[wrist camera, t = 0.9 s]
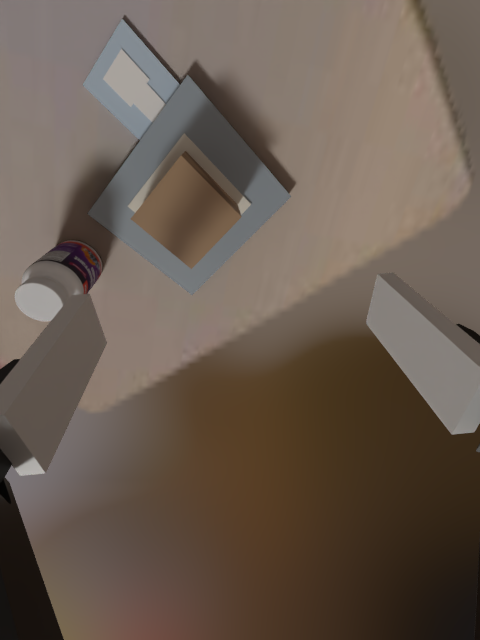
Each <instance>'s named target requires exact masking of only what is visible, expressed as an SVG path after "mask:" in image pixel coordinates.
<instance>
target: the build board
mask: <svg viewBox="0 0 480 640" xmlns="http://www.w3.org/2000/svg"><path fill="white" fill-rule="evenodd" d="M185 151H186V152H187V153H188V154H189V155H190V156H191V157H192V158H193V159H194V160H195V161H196V162H197V163H198V164H199V165H200V166H201V167H202V168H203V169H204V170H205V171H206V172H207V173H208V174H209V175H210V177H211V178H212V179H213V180H214V181H215V182H216V183H217V184H218V185H219V186H220V187H221V188H222V189H223V190H224V191H225V192H226V193H227V194H228V195H229V196H230V197H231V198H232V199H233V200H234V201H235V202H236V203H237V204H238V207H239V210H240V213H241V216H242V217H241V218H240V219H239V220H238V221H237V222H236V223H235V224H234V226H233V227H232V228H231V229H230V230H229V231H228V232H227V233H226V234H225V235H224V236H223V237H222V238H221V239H220V240H219V241H218V242H217V243H216V244H215V245H214V246H213V247H212V248H211V249H210V250H209V252H208V253H207V254H206V255H205V256H204V257H203V258H202V259H201V260H200V261H199V262H198V263H197V264H196V265H195V266H194V267H193V268H192V269H191V268H189V267H188V266H187V265H186V264H184V263H183V262H182V261H181V260H180V259H178V258H177V257H176V256H175V255H174V254H172V253H171V252H170V251H169V250H167V249H166V248H165V247H164V246H163V245H161V244H160V243H159V242H158V241H157V240H155V239H154V238H153V237H152V236H151V235H149V234H148V233H147V232H146V231H144V230H143V229H142V228H141V227H140V226H138V225H137V224H136V223H135V222H134V221H132V220H131V218H132V216H133V215H134V214H135V213H136V211H137V210H138V209H139V208H140V206H141V205H142V204H143V202H144V201H145V200H146V199H147V197H148V196H149V195H150V194H151V192H152V191H153V190H154V189H155V187H156V186H157V185H158V184H159V182H160V181H161V180H162V179H163V177H164V176H165V175H166V174H167V172H168V171H169V170H170V168H171V167H172V166H173V165H174V163H175V162H176V161H177V160H178V158H179V157H180V156H181V155H182V154H183V153H184V152H185ZM290 197H291V196H290V194H289V193H288V192H287V191H286V190H285V189H284V187H283V186H282V185H281V184H280V183H279V181H278V180H277V179H276V178H275V177H274V176H273V174H272V173H271V172H270V171H269V170H268V169H267V167H266V166H265V165H264V164H263V163H262V161H261V160H260V159H259V158H258V157H257V156H256V154H255V153H254V152H253V151H252V150H251V148H250V147H249V146H248V145H247V144H246V143H245V141H244V140H243V139H242V138H241V137H240V136H239V134H238V133H237V132H236V131H235V130H234V128H233V127H232V126H231V125H230V124H229V123H228V121H227V120H226V119H225V118H224V117H223V115H222V114H221V113H220V112H219V111H218V110H217V108H216V107H215V106H214V105H213V104H212V103H211V101H210V100H209V99H208V98H207V97H206V95H205V94H204V93H203V92H202V91H201V90H200V88H199V87H198V86H197V85H196V84H195V82H194V81H193V80H192V79H191V78H190V77H189V75H187V76H186V78H185V79H184V80H183V82H182V83H181V85H180V86H179V87H178V89H177V90H176V92H175V93H174V94H173V96H172V97H171V98H170V100H169V101H168V103H167V104H166V105H165V107H164V108H163V110H162V111H161V112H160V114H159V115H158V116H157V118H156V119H155V121H154V122H153V123H152V125H151V126H150V128H149V129H148V130H147V132H146V133H145V134H144V136H143V137H142V139H141V140H140V141H139V143H138V144H137V146H136V147H135V148H134V150H133V151H132V152H131V154H130V155H129V157H128V158H127V159H126V161H125V162H124V164H123V165H122V166H121V168H120V169H119V170H118V172H117V173H116V175H115V176H114V177H113V179H112V180H111V182H110V183H109V184H108V186H107V187H106V188H105V190H104V191H103V193H102V194H101V195H100V197H99V198H98V200H97V201H96V202H95V204H94V205H93V206H92V208H91V209H90V211H89V212H88V213H87V214H88V215H90V216H91V217H92V218H93V219H95V220H96V221H97V222H99V223H100V224H101V225H102V226H104V227H105V228H106V229H108V230H109V231H110V232H111V233H113V234H114V235H115V236H117V237H118V238H119V239H120V240H122V241H123V242H124V243H126V244H127V245H128V246H129V247H131V248H132V249H133V250H135V251H136V252H137V253H138V254H140V255H141V256H142V257H144V258H145V259H146V260H147V261H149V262H150V263H151V264H153V265H154V266H155V267H156V268H158V269H159V270H160V271H162V272H163V273H164V274H165V275H167V276H168V277H169V278H171V279H172V280H173V281H174V282H176V283H177V284H178V285H180V286H181V287H182V288H183V289H185V290H186V291H187V292H189V293H190V294H191V295H193V294H194V293H195V292H196V291H197V290H198V289H199V288H200V287H201V286H202V285H203V284H204V283H205V282H206V281H207V280H208V279H209V278H210V277H211V276H212V275H213V274H214V273H215V272H216V271H217V270H218V269H219V268H220V267H221V266H222V265H223V264H224V263H225V262H226V261H227V260H228V259H229V258H230V257H231V256H232V255H233V254H234V253H235V252H236V251H237V250H238V249H239V248H240V247H241V246H242V245H243V244H244V243H245V242H246V241H247V240H248V239H249V238H250V237H251V236H252V235H253V234H254V233H255V232H256V231H257V230H258V229H259V228H260V227H261V226H262V225H263V224H264V223H265V222H266V221H267V220H268V219H269V218H270V217H271V216H272V215H273V214H274V213H275V212H276V211H277V210H278V209H279V208H280V207H281V206H282V205H283V204H284V203H285V202H286V201H287V200H288V199H289V198H290Z"/></svg>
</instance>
